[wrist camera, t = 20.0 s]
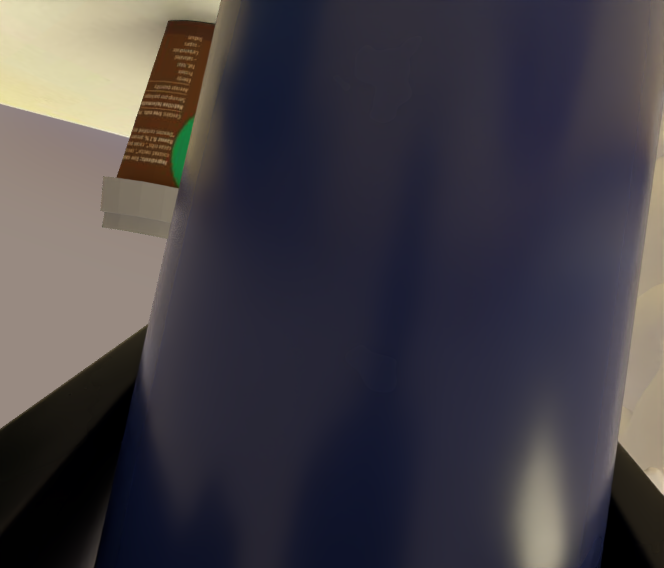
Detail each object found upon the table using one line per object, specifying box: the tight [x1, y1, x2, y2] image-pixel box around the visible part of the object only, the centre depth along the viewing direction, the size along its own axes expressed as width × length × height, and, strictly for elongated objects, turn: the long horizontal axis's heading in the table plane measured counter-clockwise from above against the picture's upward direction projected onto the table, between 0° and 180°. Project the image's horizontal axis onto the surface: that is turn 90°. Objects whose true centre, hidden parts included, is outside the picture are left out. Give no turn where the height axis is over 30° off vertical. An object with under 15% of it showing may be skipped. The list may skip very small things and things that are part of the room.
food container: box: [101, 21, 215, 239], centre depth 27 cm, size 12×6×10 cm, turn 22°
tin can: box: [94, 0, 664, 568], centre depth 8 cm, size 6×6×13 cm
